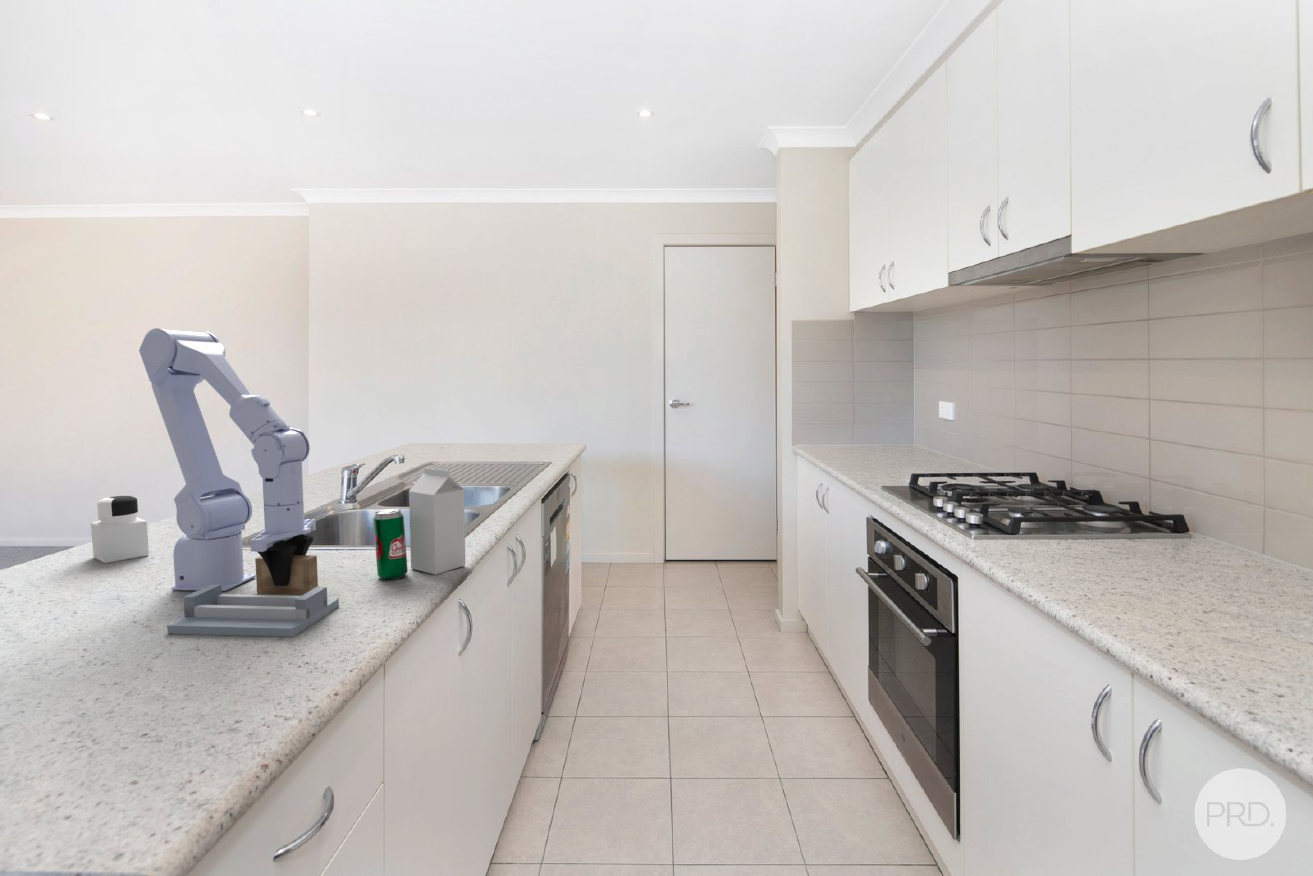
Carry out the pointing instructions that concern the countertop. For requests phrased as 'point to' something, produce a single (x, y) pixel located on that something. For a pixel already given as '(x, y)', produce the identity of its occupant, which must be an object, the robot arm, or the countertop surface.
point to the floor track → (251, 613)
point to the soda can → (390, 544)
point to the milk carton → (436, 523)
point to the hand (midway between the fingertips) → (287, 582)
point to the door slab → (300, 576)
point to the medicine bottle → (119, 530)
